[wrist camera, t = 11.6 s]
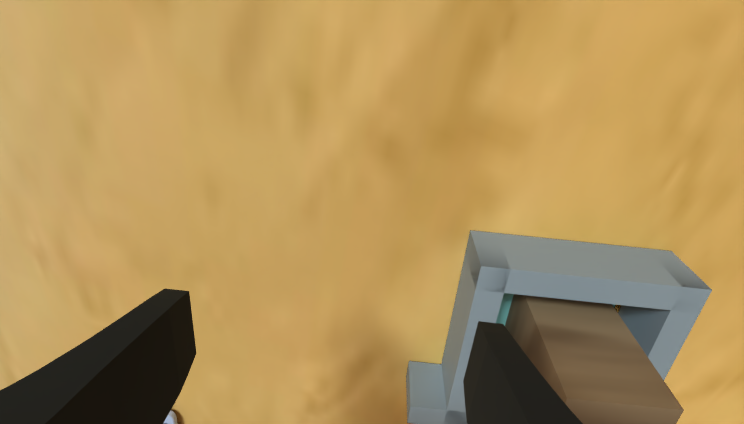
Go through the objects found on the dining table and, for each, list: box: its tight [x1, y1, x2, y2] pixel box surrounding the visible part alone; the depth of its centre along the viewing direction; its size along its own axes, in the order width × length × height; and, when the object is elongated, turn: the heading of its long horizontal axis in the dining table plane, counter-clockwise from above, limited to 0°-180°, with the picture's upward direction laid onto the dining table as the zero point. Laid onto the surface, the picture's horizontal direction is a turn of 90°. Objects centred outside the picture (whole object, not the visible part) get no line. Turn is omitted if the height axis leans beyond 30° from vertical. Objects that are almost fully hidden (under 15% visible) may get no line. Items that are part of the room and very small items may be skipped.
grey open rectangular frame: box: [406, 230, 712, 424], centre depth 24 cm, size 18×11×3 cm, turn 175°
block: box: [505, 294, 684, 424], centre depth 19 cm, size 4×4×7 cm
